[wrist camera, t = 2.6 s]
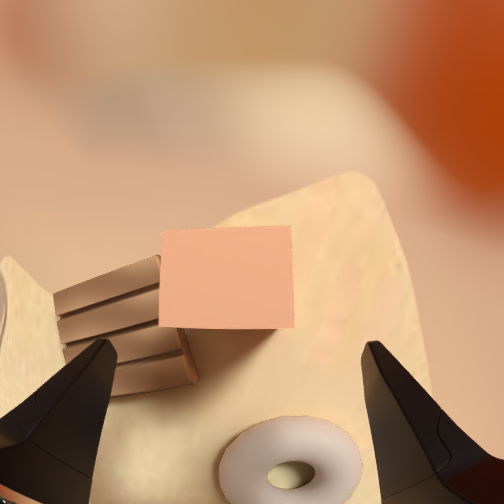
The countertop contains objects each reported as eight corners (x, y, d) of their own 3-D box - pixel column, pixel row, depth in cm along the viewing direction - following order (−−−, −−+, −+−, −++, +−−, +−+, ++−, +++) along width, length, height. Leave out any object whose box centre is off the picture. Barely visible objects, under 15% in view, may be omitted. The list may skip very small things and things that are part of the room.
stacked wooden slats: (199, 379, 18) (190, 385, 16) (92, 397, 18) (77, 401, 16) (165, 259, 20) (154, 252, 18) (68, 294, 20) (52, 291, 18)
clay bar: (283, 323, 18) (294, 328, 8) (223, 323, 19) (158, 326, 8) (282, 279, 19) (290, 225, 8) (223, 280, 19) (162, 230, 9)
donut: (234, 512, 15) (357, 496, 14) (227, 535, 12) (366, 519, 11) (213, 415, 17) (353, 396, 17) (200, 432, 14) (366, 410, 13)
